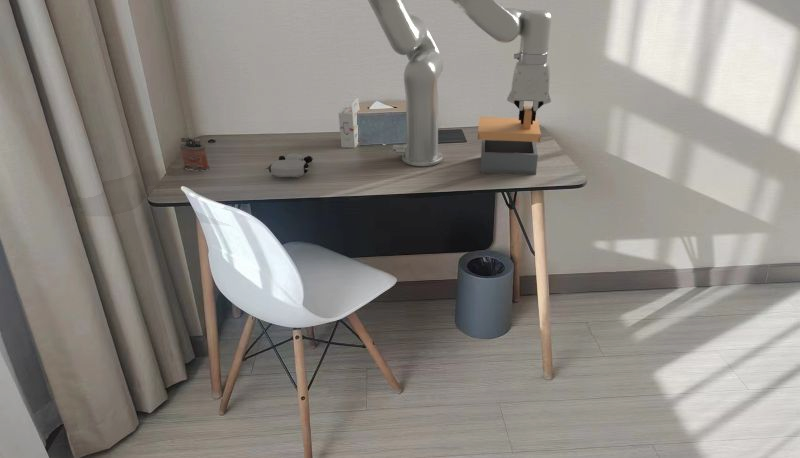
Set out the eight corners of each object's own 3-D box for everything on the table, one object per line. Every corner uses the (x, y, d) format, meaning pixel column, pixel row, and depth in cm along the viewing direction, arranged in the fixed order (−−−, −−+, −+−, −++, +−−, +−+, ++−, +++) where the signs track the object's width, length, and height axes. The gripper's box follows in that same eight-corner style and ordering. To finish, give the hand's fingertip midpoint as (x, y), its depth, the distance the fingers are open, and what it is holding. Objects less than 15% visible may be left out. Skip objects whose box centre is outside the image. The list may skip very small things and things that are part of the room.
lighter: (211, 167, 186) (205, 136, 181) (205, 172, 183) (199, 140, 178) (188, 165, 188) (182, 134, 183) (182, 169, 185) (175, 138, 180)
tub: (480, 172, 178) (481, 153, 175) (481, 157, 188) (481, 138, 185) (536, 174, 176) (537, 154, 173) (533, 158, 186) (535, 140, 183)
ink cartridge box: (347, 138, 205) (344, 96, 198) (361, 139, 205) (359, 96, 198) (340, 147, 198) (337, 103, 191) (355, 148, 197) (352, 104, 190)
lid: (477, 139, 172) (479, 114, 169) (478, 124, 184) (480, 100, 180) (539, 142, 170) (542, 116, 167) (536, 126, 182) (539, 102, 178)
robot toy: (278, 165, 189) (265, 181, 175) (277, 151, 187) (263, 166, 173) (317, 165, 188) (307, 182, 174) (316, 151, 186) (305, 167, 172)
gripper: (503, 60, 164) (498, 126, 172) (563, 62, 162) (555, 128, 171) (503, 54, 170) (498, 117, 179) (561, 56, 168) (553, 119, 177)
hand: (526, 122), depth 175 cm, fingers closed on lid
